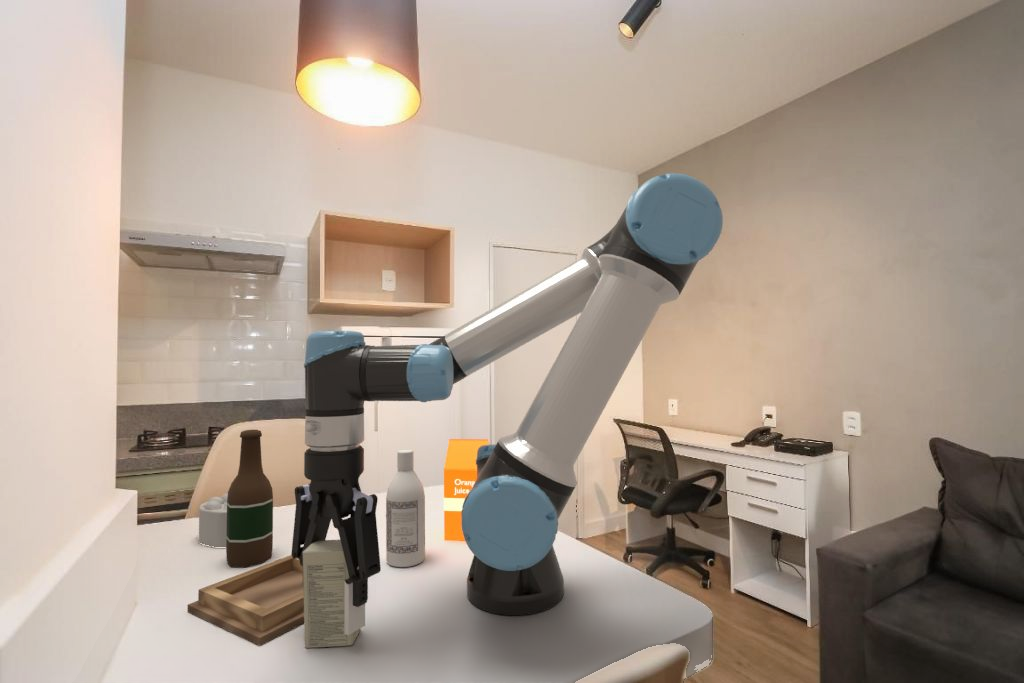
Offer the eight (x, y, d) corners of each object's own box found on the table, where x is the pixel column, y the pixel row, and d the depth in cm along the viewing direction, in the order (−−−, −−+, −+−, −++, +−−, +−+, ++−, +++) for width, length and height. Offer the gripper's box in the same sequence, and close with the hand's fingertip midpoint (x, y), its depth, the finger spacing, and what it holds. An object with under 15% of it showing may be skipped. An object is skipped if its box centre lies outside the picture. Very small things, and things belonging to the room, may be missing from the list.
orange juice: (486, 542, 100) (484, 442, 101) (443, 540, 101) (442, 441, 102) (493, 529, 107) (492, 436, 108) (454, 527, 109) (453, 436, 110)
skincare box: (361, 629, 67) (361, 537, 68) (352, 647, 63) (352, 549, 63) (313, 630, 67) (314, 538, 68) (301, 648, 63) (301, 550, 63)
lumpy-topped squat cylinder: (224, 551, 97) (224, 506, 98) (184, 541, 103) (185, 499, 103) (271, 534, 106) (271, 493, 107) (232, 526, 112) (232, 487, 113)
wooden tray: (367, 590, 79) (367, 571, 79) (259, 645, 63) (259, 621, 64) (296, 567, 88) (296, 550, 88) (187, 611, 73) (187, 590, 73)
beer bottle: (216, 563, 90) (218, 432, 92) (255, 549, 97) (256, 427, 99) (243, 571, 87) (244, 434, 88) (281, 556, 94) (282, 428, 95)
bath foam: (402, 551, 95) (401, 446, 96) (432, 556, 92) (431, 448, 93) (378, 564, 89) (378, 452, 90) (410, 570, 86) (409, 455, 87)
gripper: (263, 444, 68) (261, 614, 67) (366, 457, 58) (365, 658, 57) (310, 437, 75) (309, 592, 74) (410, 447, 64) (411, 628, 63)
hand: (333, 621), depth 65 cm, fingers closed on skincare box, 7 cm apart
